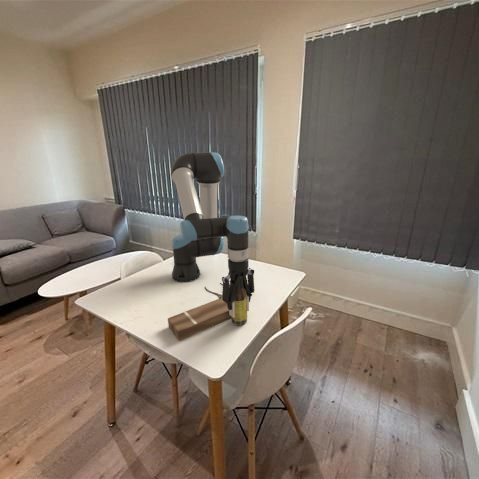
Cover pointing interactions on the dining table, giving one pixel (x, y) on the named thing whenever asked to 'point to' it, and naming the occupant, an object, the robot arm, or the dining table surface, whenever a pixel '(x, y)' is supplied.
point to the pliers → (216, 293)
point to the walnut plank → (199, 319)
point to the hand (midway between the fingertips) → (239, 312)
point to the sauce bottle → (240, 304)
